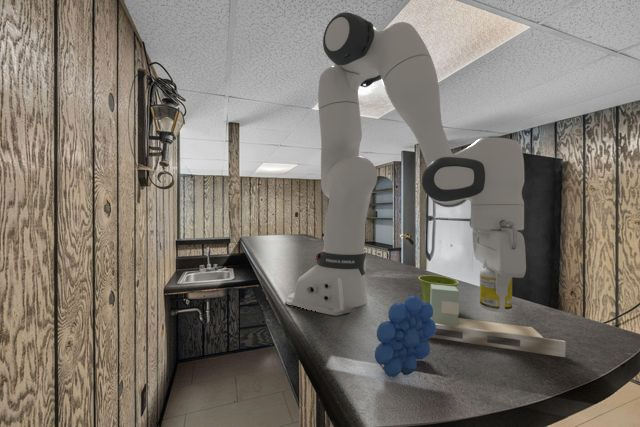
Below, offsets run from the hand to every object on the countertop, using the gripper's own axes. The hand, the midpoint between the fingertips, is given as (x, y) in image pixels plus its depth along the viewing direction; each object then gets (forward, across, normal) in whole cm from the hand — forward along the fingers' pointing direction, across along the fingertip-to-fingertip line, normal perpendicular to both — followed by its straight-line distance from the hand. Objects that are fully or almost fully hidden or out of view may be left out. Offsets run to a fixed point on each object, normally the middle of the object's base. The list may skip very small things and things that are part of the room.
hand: (495, 290), depth 54 cm
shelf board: (+10, +1, +2) cm, 10 cm away
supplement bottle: (+4, 0, 0) cm, 4 cm away
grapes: (+10, -17, +17) cm, 26 cm away
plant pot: (+10, +13, +9) cm, 19 cm away
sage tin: (+9, +1, +9) cm, 13 cm away
